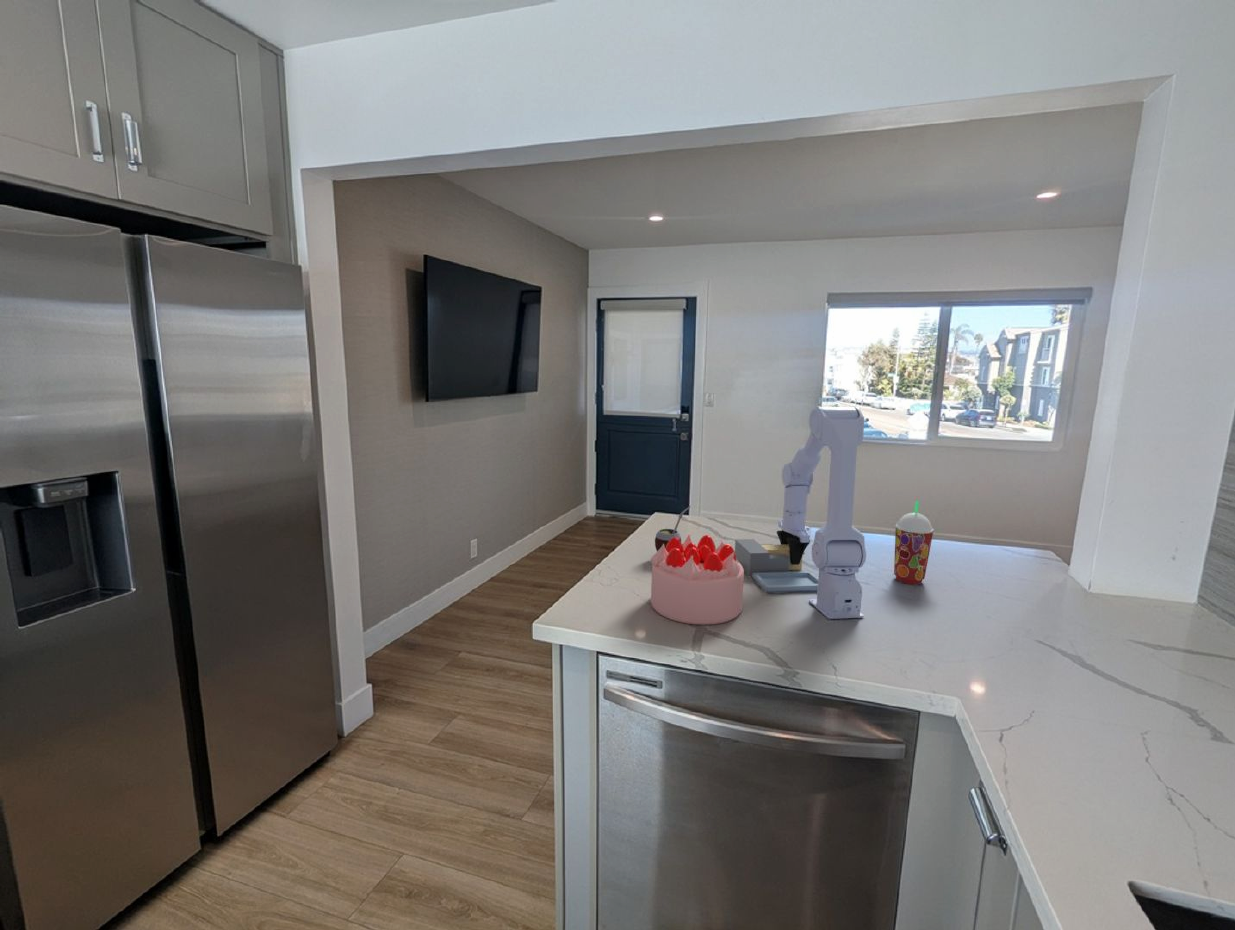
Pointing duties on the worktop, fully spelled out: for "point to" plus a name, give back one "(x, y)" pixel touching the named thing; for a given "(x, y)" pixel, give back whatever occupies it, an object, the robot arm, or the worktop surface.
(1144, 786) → the worktop surface
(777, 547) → the tan block with handle
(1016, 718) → the worktop surface
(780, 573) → the tray
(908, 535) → the smoothie
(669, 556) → the cake
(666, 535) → the mate gourd
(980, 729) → the worktop surface
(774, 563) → the dock
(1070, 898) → the worktop surface
